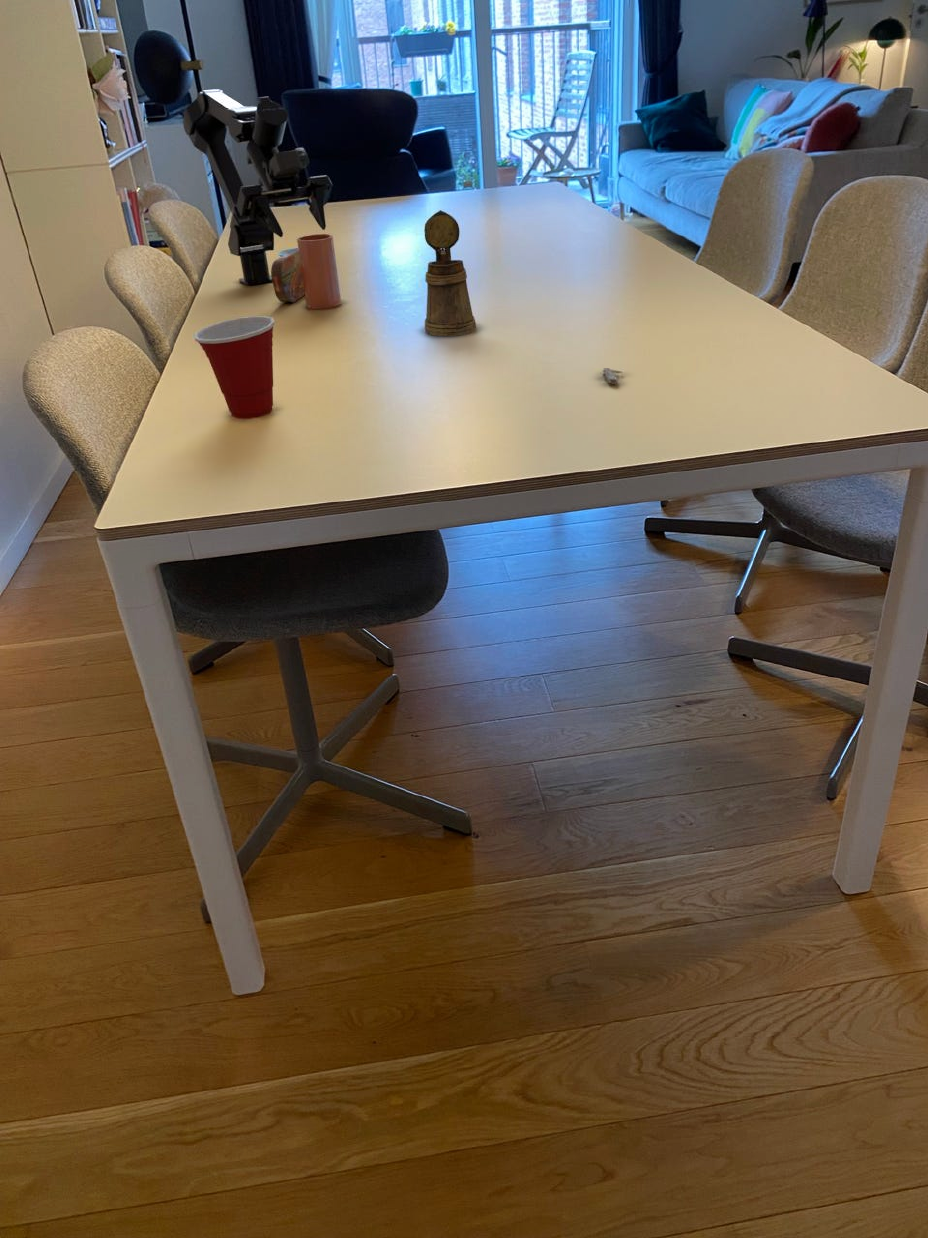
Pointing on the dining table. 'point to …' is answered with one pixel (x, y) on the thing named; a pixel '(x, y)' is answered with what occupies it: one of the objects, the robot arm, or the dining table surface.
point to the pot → (319, 271)
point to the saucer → (287, 251)
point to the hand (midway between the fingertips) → (303, 231)
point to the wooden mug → (446, 281)
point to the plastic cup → (242, 363)
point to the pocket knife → (610, 375)
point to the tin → (288, 277)
